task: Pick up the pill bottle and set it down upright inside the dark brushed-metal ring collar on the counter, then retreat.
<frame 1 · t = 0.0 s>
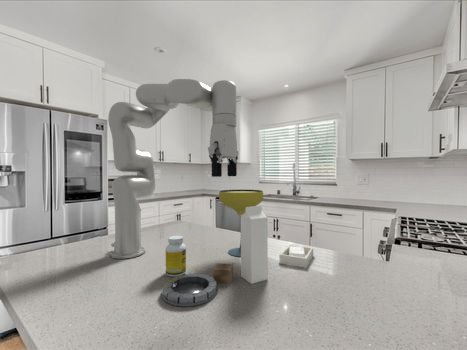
hand: (224, 176, 76), 31 cm above the countertop, fingers open, 9 cm apart
soap: (296, 258, 90), resting on soap dish
collar: (190, 292, 65), on the countertop
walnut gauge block: (223, 279, 73), on the countertop
soap dish: (297, 259, 90), on the countertop
cocktail glass: (241, 252, 98), on the countertop
pill bottle: (176, 273, 78), on the countertop
milk: (254, 278, 74), on the countertop
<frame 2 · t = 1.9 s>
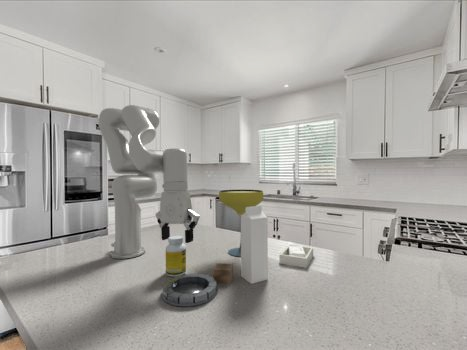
hand: (177, 240, 77), 11 cm above the countertop, fingers open, 9 cm apart
nothing on the countertop moved.
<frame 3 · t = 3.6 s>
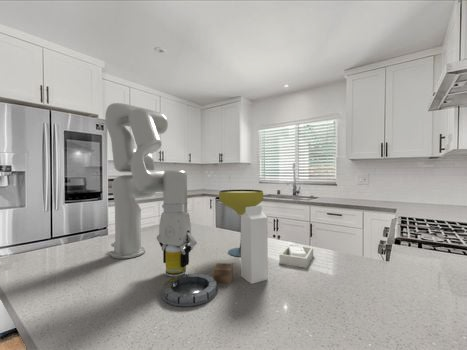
hand: (176, 263, 78), 3 cm above the countertop, fingers closed on pill bottle, 6 cm apart
pill bottle: (176, 273, 78), on the countertop, touching gripper
everything else where it was.
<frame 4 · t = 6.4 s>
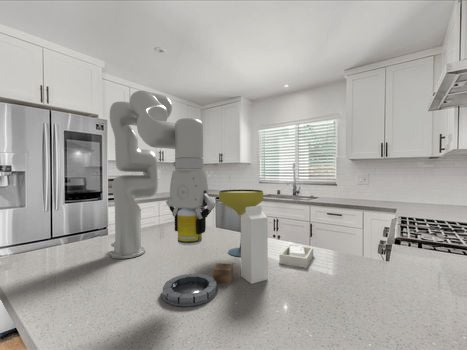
hand: (189, 231, 65), 17 cm above the countertop, fingers closed on pill bottle, 6 cm apart
pill bottle: (189, 243, 65), point 13 cm above the countertop, touching gripper
everything else where it was.
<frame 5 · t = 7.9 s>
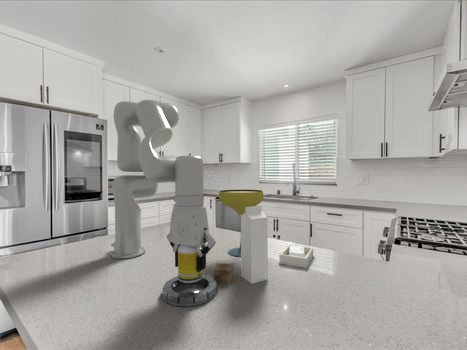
hand: (190, 267, 65), 7 cm above the countertop, fingers closed on pill bottle, 6 cm apart
pill bottle: (190, 279, 65), point 3 cm above the countertop, touching gripper
everything else where it was.
when the fingers open (4 cm above the countertop, at t = 9.3 s): pill bottle stays where it is, resting on collar.
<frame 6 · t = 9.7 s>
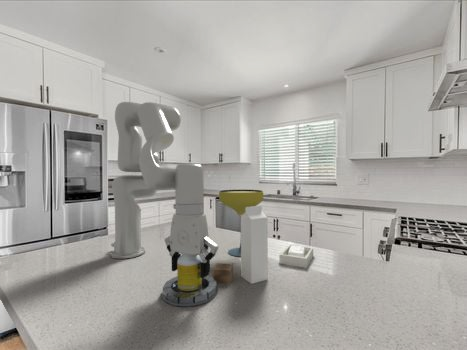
hand: (190, 272, 65), 5 cm above the countertop, fingers open, 9 cm apart
pill bottle: (189, 290, 66), resting on collar
everything else where it was.
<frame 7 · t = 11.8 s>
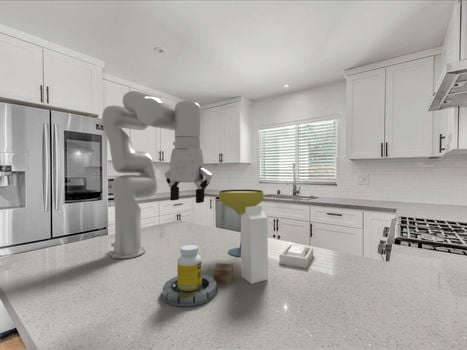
hand: (186, 201, 73), 24 cm above the countertop, fingers open, 9 cm apart
nothing on the countertop moved.
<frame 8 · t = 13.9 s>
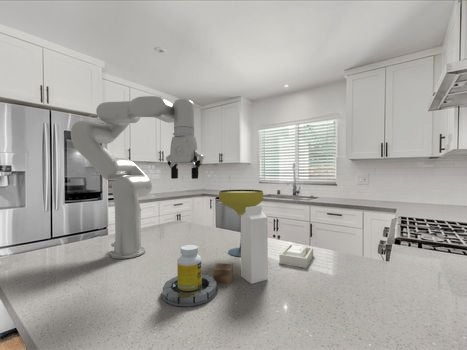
hand: (184, 178, 91), 30 cm above the countertop, fingers open, 9 cm apart
at the end: pill bottle 0.3 cm off-centre on the collar, point 0.3 cm above the collar's base; pill bottle tilted 0°; the gripper is holding nothing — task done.
